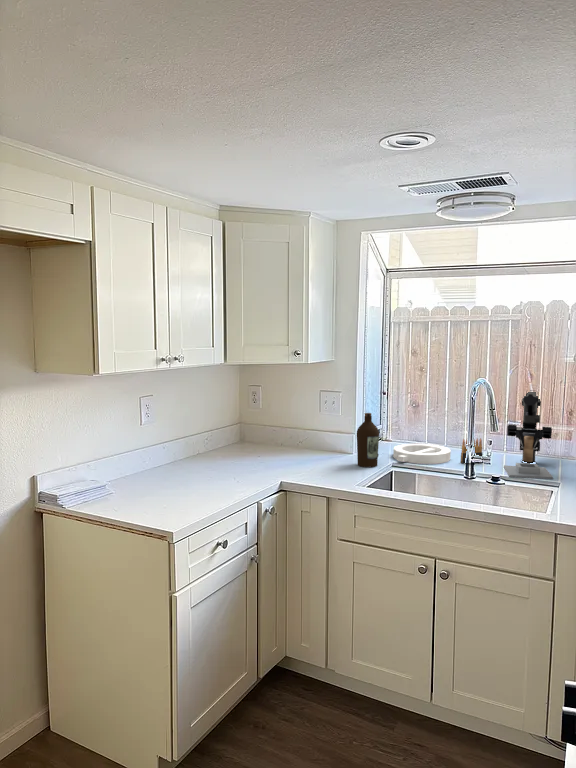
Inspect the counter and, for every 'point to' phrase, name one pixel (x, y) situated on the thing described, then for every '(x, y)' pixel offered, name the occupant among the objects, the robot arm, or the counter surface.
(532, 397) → the robot arm
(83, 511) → the counter surface
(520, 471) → the holder
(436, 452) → the ring with crossbar
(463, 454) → the ammunition clip
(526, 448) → the walnut pin
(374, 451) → the olive oil
